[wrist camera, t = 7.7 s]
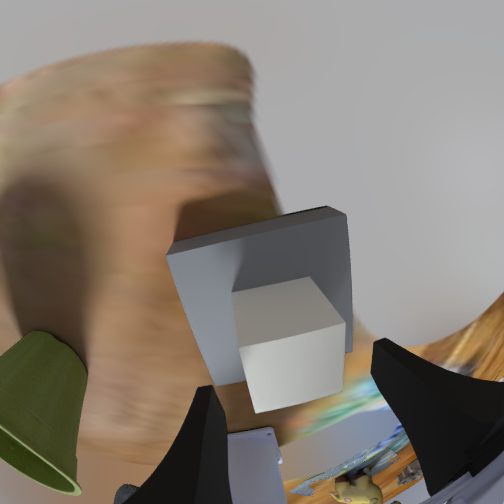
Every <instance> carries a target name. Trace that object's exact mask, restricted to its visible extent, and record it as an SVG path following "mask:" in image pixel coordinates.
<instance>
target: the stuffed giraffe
mask: <svg viewBox="0 0 504 504" xmlns="http://www.w3.org/2000/svg"><path fill="white" fill-rule="evenodd" d="M380 443H382V442H380ZM380 443H378V444H377V445H375V446H373V447H371V448H367V449H365V450H363V451H361V452H360V453H358V454H356V455H355V456H353V457H351V458H350V459H349V460H347V461H345V462H344V463H343V464H341V465H339V466H337V467H335V468H332V469H330V470H328V471H327V473H326V474H324V475H322V474H323V473H322V474H320V475H318V476H315V477H313V478H311V479H309V480H306V481H303V482H304V483H303V484H300V485H299V486H298V487H296V488H295V489H293V490H290V491H289V492H291V493H293V494H300V493H301V495H305V496H310V495H313V494H311V493H312V492H314V491H313V490H314V489H312V490H311V489H310V487H309V488H307V486H309V485H310V484H313V483H312V482H314V481H315V480H316V479H319V478H322V477H323V476H324V478H325V480H326V479H327V478H328V477H329V478H331V477H334V476H335V475H338V474H339V473H340V471H341V470H342V469H343V468H344V467H343V466H345V465H347V464H349V463H351V462H353V461H355V460H356V459H357V458H359V457H360V456H361V455H363V454H364V453H365V455H364V456H362V457H361V458H360V459H359V460H358V461H357V462H355V463H351V464H349V465H348V466H347V467H348V468H349V466H351V465H352V466H351V467H350V468H349V469H347V470H346V471H348V470H350V469H351V468H353V467H354V468H356V469H355V470H354V471H352V472H351V473H349V474H348V475H345V476H341V477H338V478H337V479H336V481H335V489H336V491H337V492H329V493H330V494H331V495H332V496H333V497H334V498H335V499H336V500H337V501H339V502H344V503H348V504H361V503H367V504H383V496H382V491H381V489H380V488H379V487H378V486H377V485H376V484H374V483H373V481H372V476H374V475H375V474H378V473H380V472H381V471H382V470H384V469H386V468H387V467H388V466H390V465H391V464H393V463H394V462H395V461H397V460H398V459H400V457H399V458H397V460H394V461H393V462H391V463H390V462H389V463H388V464H387V463H386V462H388V461H389V460H391V459H392V458H394V457H395V456H396V455H397V454H396V453H395V452H393V451H392V450H391V451H389V452H388V450H389V449H390V448H389V449H387V448H388V447H387V448H386V450H384V451H382V452H381V453H379V454H377V455H376V456H374V457H373V458H372V459H371V460H370V459H369V460H368V461H367V460H366V461H364V459H366V456H367V455H369V453H371V451H372V450H373V449H374V448H376V447H377V446H378V445H379V444H380ZM386 452H388V453H386ZM385 453H386V454H385ZM390 453H391V454H390ZM389 454H390V455H389ZM387 455H388V456H387ZM379 457H380V458H379ZM378 458H379V459H378ZM382 458H383V459H382ZM377 459H378V460H380V459H382V460H381V461H380V462H378V463H377V464H376V465H375V466H373V467H372V468H370V469H369V468H368V467H366V466H368V465H369V464H371V463H372V462H374V461H375V460H376V461H378V460H377ZM363 461H364V462H363ZM376 461H375V462H376ZM361 462H363V463H361ZM385 463H386V464H385ZM358 464H359V465H358ZM355 466H356V467H355ZM342 467H343V468H342ZM354 468H353V469H354ZM346 471H345V472H346ZM331 474H332V475H331ZM330 475H331V476H330ZM326 476H328V477H326ZM322 479H323V478H322ZM312 480H313V481H312ZM319 480H320V479H319ZM319 480H318V481H319ZM318 481H317V482H318ZM322 481H323V480H322ZM317 486H318V485H317ZM305 487H306V488H305ZM303 489H306V490H307V489H309V491H306V490H303ZM299 491H300V492H299ZM304 491H306V492H305V493H302V492H304ZM334 493H337V495H334ZM312 497H313V496H312ZM391 504H401V503H400V502H398V501H394V502H392V503H391Z"/></svg>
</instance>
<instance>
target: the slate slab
mask: <svg viewBox="0 0 504 504" xmlns="http://www.w3.org/2000/svg"><path fill="white" fill-rule="evenodd" d="M166 258H167V261H168V264H169V267H170V270H171V273H172V276H173V279H174V282H175V285H176V288H177V291H178V294H179V296H180V299H181V302H182V305H183V307H184V310H185V313H186V316H187V318H188V321H189V324H190V326H191V329H192V331H193V334H194V336H195V339H196V341H197V344H198V346H199V349H200V351H201V354H202V356H203V358H204V361H205V363H206V366H207V368H208V370H209V373H210V375H211V377H212V379H213V382H214V384H215V386H222V385H228V384H233V383H238V382H243V381H247V380H246V376H245V372H244V368H243V364H242V360H241V356H240V352H239V348H238V342H237V334H236V326H235V318H234V310H233V302H232V294H231V292H236V291H241V290H247V289H252V288H257V287H262V286H267V285H272V284H276V283H281V282H286V281H291V280H295V279H300V278H305V277H309V276H310V278H311V279H312V280H313V281H314V283H315V284H316V285H317V286H318V288H319V289H320V290H321V291H322V293H323V294H324V295H325V296H326V298H327V299H328V300H329V302H330V303H331V304H332V305H333V307H334V308H335V309H336V311H337V312H338V313H339V314H340V316H341V317H342V318H343V320H344V321H345V322H346V329H345V354H346V353H349V352H352V341H353V316H352V281H351V263H350V249H349V237H348V226H347V216H346V214H344V213H342V212H340V211H338V210H336V209H334V208H331V207H329V206H327V205H326V206H321V207H316V208H311V209H307V210H302V211H297V212H293V213H288V214H284V216H283V217H279V218H274V219H270V220H265V221H261V222H256V223H252V224H247V225H243V226H239V227H234V228H230V229H226V230H222V231H217V232H213V233H209V234H205V235H201V236H197V237H193V238H188V239H184V240H180V241H176V242H173V243H172V245H171V247H170V249H169V251H168V253H167V255H166Z"/></svg>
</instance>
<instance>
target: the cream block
mask: <svg viewBox="0 0 504 504" xmlns="http://www.w3.org/2000/svg"><path fill="white" fill-rule="evenodd" d="M231 294H232V302H233V310H234V318H235V326H236V334H237V342H238V348H239V352H240V356H241V360H242V364H243V368H244V372H245V376H246V380H247V384H248V388H249V391H250V395H251V399H252V403H253V406H254V410H255V413H261V412H266V411H271V410H275V409H280V408H284V407H289V406H293V405H297V404H301V403H305V402H308V401H312V400H316V399H319V398H323V397H326V396H329V395H333V394H336V393H339V392H342V384H343V371H344V354H345V329H346V322H345V321H344V320H343V318H342V317H341V316H340V314H339V313H338V312H337V311H336V309H335V308H334V307H333V305H332V304H331V303H330V302H329V300H328V299H327V298H326V296H325V295H324V294H323V293H322V291H321V290H320V289H319V288H318V286H317V285H316V284H315V283H314V281H313V280H312V279H311V278H310V276H309V277H305V278H300V279H295V280H291V281H286V282H281V283H276V284H272V285H267V286H262V287H257V288H252V289H247V290H241V291H236V292H231Z"/></svg>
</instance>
